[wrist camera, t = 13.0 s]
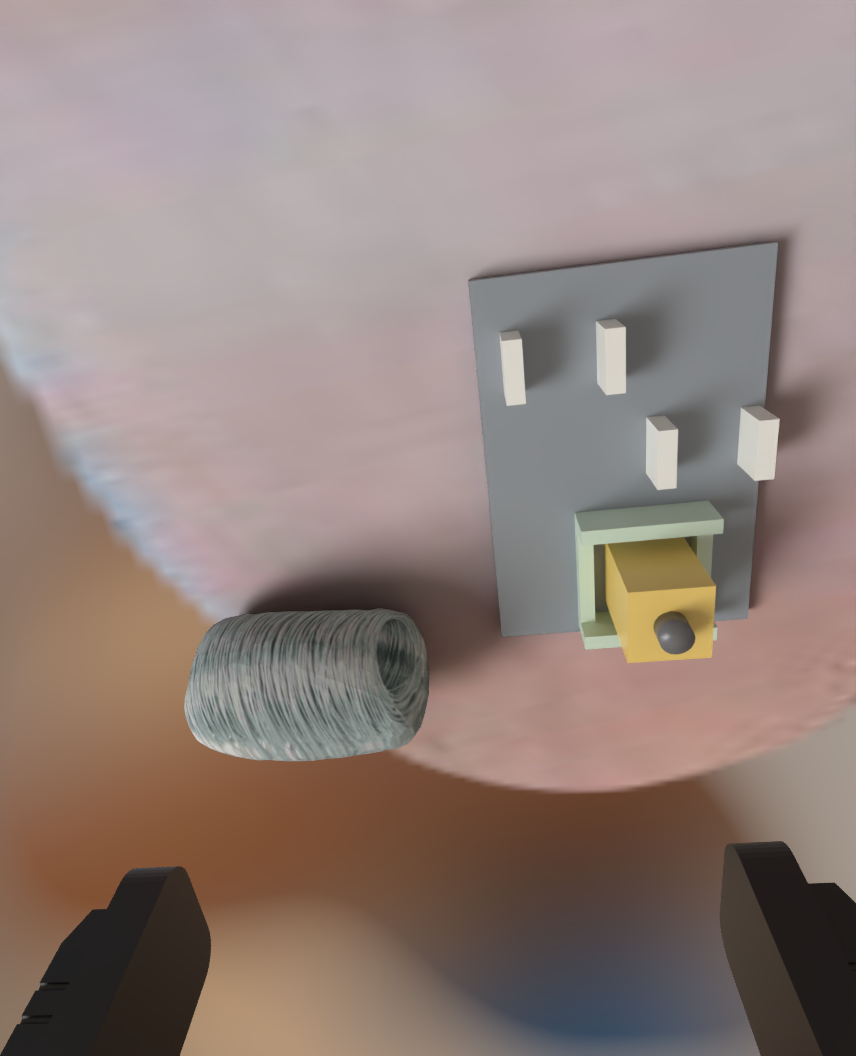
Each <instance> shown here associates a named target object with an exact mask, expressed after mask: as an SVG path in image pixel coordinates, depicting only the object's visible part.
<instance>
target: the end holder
mask: <svg viewBox="0 0 856 1056" xmlns="http://www.w3.org/2000/svg"><path fill="white" fill-rule="evenodd" d="M723 526H724V519H723V517H722V516H721V515H720V514H719V513H718V511H717V510H716V509H715V508H714V507H713V505H712V504H711V503H710V502H709V500H708V501H697V502H686V503H676V504H665V505H654V506H643V507H632V508H621V509H610V510H599V511H589V512H578V513H575V538H576V564H577V590H578V616H579V628H580V632H581V635H582V639H583V643H584V646H585V650H586V649H600V648H614V647H622V646H621V643H620V640H619V637H618V634H617V632H616V629H615V626H614V623H613V620H612V617H611V615H610V612H596V613H595V587H594V549H593V545H598V544H609V543H621V542H632V541H644V540H655V539H667V538H678V537H689V536H692V538H691V549H692V550H693V552H694V553H695V555H696V556H697V558H698V559H699V561H700V562H701V564H702V565H703V567H704V568H705V570H706V571H707V573H708V574H709V576H710V577H711V567H712V548H713V534H723ZM713 640H717V626H716V624H715V623H714V628H713Z"/></svg>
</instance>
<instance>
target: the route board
mask: <svg viewBox="0 0 856 1056" xmlns="http://www.w3.org/2000/svg"><path fill="white" fill-rule="evenodd" d="M777 251H778V242H765V243H757V244H749V245H741V246H733V247H725V248H717V249H709V250H701V251H693V252H685V253H677V254H669V255H661V256H653V257H646V258H638V259H630V260H622V261H614V262H606V263H598V264H590V265H582V266H574V267H566V268H558V269H550V270H542V271H534V272H526V273H518V274H511V275H503V276H495V277H487V278H479V279H471V280H468V281H469V292H470V302H471V313H472V324H473V334H474V345H475V356H476V366H477V377H478V388H479V398H480V409H481V420H482V430H483V441H484V452H485V462H486V473H487V484H488V494H489V505H490V516H491V526H492V537H493V548H494V558H495V569H496V579H497V590H498V601H499V611H500V622H501V633H502V637H511V636H524V635H537V634H550V633H564V632H577V631H580V628H579V616H578V590H577V564H576V538H575V513H578V512H589V511H599V510H610V509H621V508H632V507H643V506H654V505H665V504H676V503H686V502H697V501H708V500H709V502H710V503H711V504H712V505H713V507H714V508H715V509H716V510H717V511H718V513H719V514H720V515H721V516H722V517H723V519H724V526H723V534H713V548H712V567H711V579H712V581H713V582H714V584H715V585H716V596H715V612H714V621H723V620H736V619H748V607H749V595H750V582H751V570H752V558H753V546H754V533H755V521H756V509H757V497H758V484H759V481H754V480H753V479H752V478H751V477H750V476H749V475H748V474H747V473H746V472H745V471H744V470H743V469H742V468H741V467H740V466H739V465H738V464H737V459H738V444H739V429H740V414H741V407H750V406H759V405H760V406H761V407H763V408H764V409H765V398H766V386H767V374H768V362H769V349H770V337H771V325H772V312H773V300H774V288H775V276H776V263H777ZM609 319H616V320H617V321H619V322H620V323H621V324H623V325H624V326H625V327H626V393H623V394H614V395H606V394H605V393H604V392H603V390H602V389H601V388H600V386H599V385H598V384H597V348H596V321H601V320H609ZM516 330H518V331H519V334H520V336H521V338H522V350H523V366H524V381H525V396H526V404H521V405H511V406H507V405H506V400H505V395H504V385H503V372H502V359H501V347H500V334H499V332H508V331H516ZM663 415H665V416H666V417H667V418H668V419H669V420H670V421H671V422H672V423H673V425H674V426H675V427H676V428H677V429H678V450H677V485H676V488H674V489H664V490H657V488H656V487H655V486H654V484H653V483H652V481H651V480H650V478H649V477H648V475H647V474H646V417H654V416H663ZM684 538H685V540H686V541H687V543H688V544H689V546H690V547H691V538H692V536H689V537H684ZM593 549H594V587H595V613H596V612H609V609H608V606H607V603H606V601H605V544H598V545H593Z"/></svg>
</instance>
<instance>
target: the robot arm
mask: <svg viewBox="0 0 856 1056" xmlns="http://www.w3.org/2000/svg"><path fill="white" fill-rule="evenodd" d="M720 925H721V933H722V938H723V943H724V948H725V951H726V955H727V959H728V962H729V965H730V968H731V971H732V974H733V977H734V980H735V983H736V986H737V988H738V991H739V994H740V997H741V1000H742V1003H743V1005H744V1009H745V1011H746V1014H747V1017H748V1020H749V1023H750V1026H751V1029H752V1031H753V1034H754V1037H755V1040H756V1043H757V1046H758V1049H759V1051H760V1055H761V1056H856V903H855V902H854V901H853V900H852V899H851V898H850V897H849V896H848V895H847V894H846V893H845V892H844V891H843V890H842V889H841V888H840V887H839V886H837V885H836V884H835V883H815V884H808V883H807V881H806V879H805V877H804V875H803V873H802V871H801V869H800V867H799V865H798V863H797V861H796V859H795V857H794V855H793V853H792V852H791V850H790V848H789V847H788V846H787V845H786V844H785V843H784V842H782V841H775V842H756V843H755V842H753V843H733V844H732V843H731V844H727V845H726V847H725V853H724V866H723V879H722V891H721V904H720ZM210 953H211V939H210V932H209V928H208V926H207V923H206V920H205V918H204V915H203V912H202V910H201V907H200V905H199V902H198V899H197V897H196V894H195V892H194V889H193V887H192V884H191V881H190V879H189V876H188V874H187V872H186V870H185V869H184V868H183V867H178V866H177V867H157V868H136V869H132V870H130V871H129V872H128V873H127V874H126V875H125V876H124V877H123V879H122V881H121V882H120V884H119V886H118V888H117V890H116V892H115V894H114V896H113V898H112V900H111V902H110V904H109V906H108V908H107V909H97V910H92V911H91V912H90V913H89V914H88V915H87V916H86V917H85V919H84V920H83V921H82V922H81V923H80V924H79V925H78V926H77V927H76V928H75V929H74V930H73V932H72V933H71V934H70V935H69V936H68V937H67V938H66V939H65V940H64V941H63V942H62V943H61V945H60V947H59V949H58V951H57V952H56V954H55V956H54V958H53V960H52V962H51V963H50V965H49V967H48V969H47V971H46V972H45V974H44V976H43V978H42V980H41V982H40V988H39V990H38V991H35V993H34V994H33V996H32V998H31V1000H30V1002H29V1003H28V1005H27V1007H26V1009H25V1011H24V1013H23V1015H22V1021H21V1023H20V1024H17V1025H16V1027H15V1029H14V1031H13V1033H12V1034H11V1036H10V1038H9V1040H8V1042H7V1044H6V1046H5V1047H4V1049H3V1051H2V1053H1V1055H0V1056H180V1053H181V1050H182V1047H183V1044H184V1041H185V1038H186V1035H187V1032H188V1029H189V1026H190V1023H191V1021H192V1017H193V1015H194V1011H195V1008H196V1006H197V1003H198V1000H199V997H200V994H201V991H202V988H203V985H204V982H205V979H206V975H207V972H208V968H209V962H210Z"/></svg>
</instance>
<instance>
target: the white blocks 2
mask: <svg viewBox="0 0 856 1056" xmlns="http://www.w3.org/2000/svg"><path fill="white" fill-rule="evenodd" d="M779 421H780V419H779V418H778V417H776V416H775V415H773V414H772V413H770V412H769V411H767V410H766V409H764V408H763V407H761V406H760V405H759V406H750V407H741V414H740V429H739V444H738V459H737V464H738V465H739V466H740V467H741V468H742V469H743V470H744V471H745V472H746V473H747V474H748V475H749V476H750V477H751V478H752V479H753V480H754V481H759V480H770V479H774V476H775V465H776V454H777V443H778V432H779ZM677 450H678V429H677V428H676V427H675V426H674V425H673V423H672V422H671V421H670V420H669V419H668V418H667V417H666V416H665V415H663V416H654V417H646V474H647V475H648V477H649V478H650V480H651V481H652V483H653V484H654V486H655V487H656V488H657V490H664V489H674V488H676V485H677Z"/></svg>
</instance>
